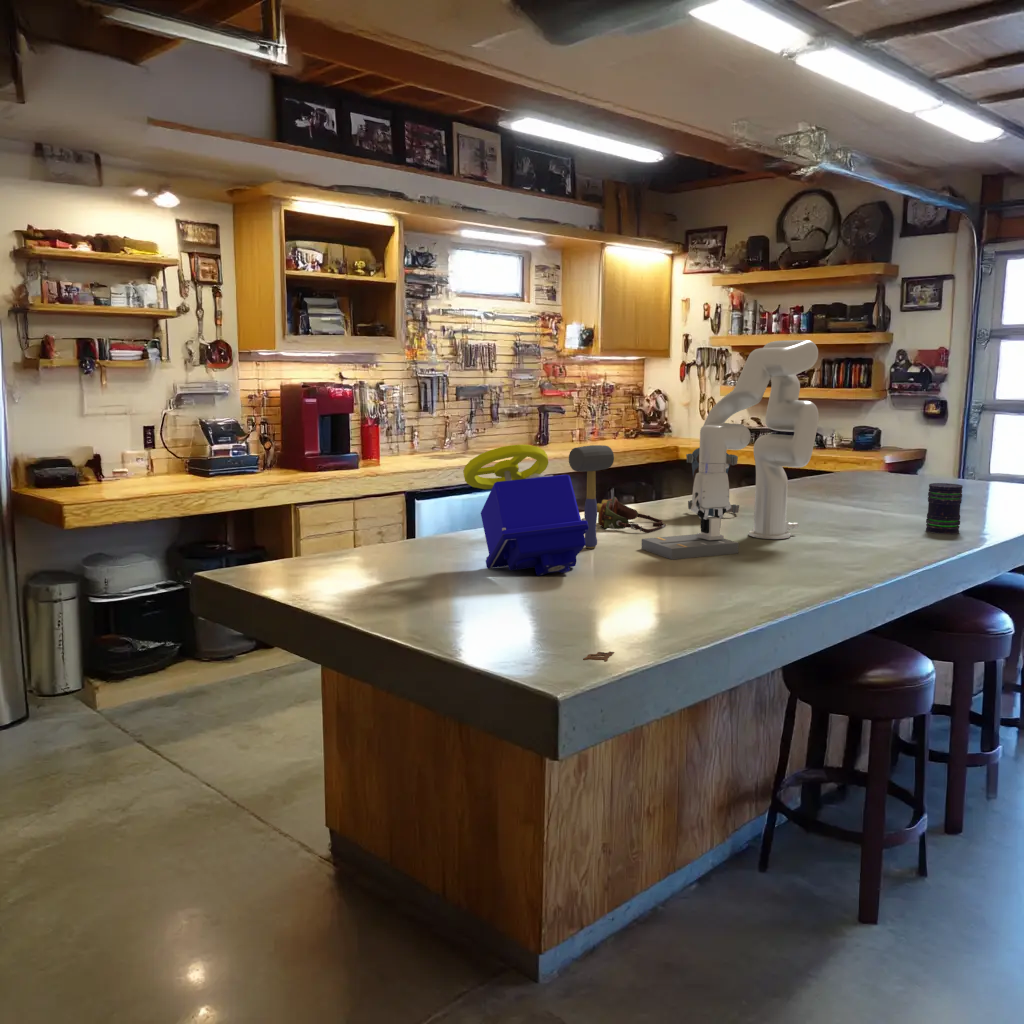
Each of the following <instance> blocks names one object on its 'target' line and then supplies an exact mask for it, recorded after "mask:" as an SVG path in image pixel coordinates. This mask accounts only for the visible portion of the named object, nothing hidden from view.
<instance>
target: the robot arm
mask: <svg viewBox="0 0 1024 1024" xmlns="http://www.w3.org/2000/svg"><path fill="white" fill-rule="evenodd" d="M818 358H819V348H818V347H817V345H816V343H815V342H813V341H812V340H808V339H803V340H802V339H800V340H799V339H798V340H797V339H796V340H795V339H794V340H774V341H770V342H768V343H766V344H764V346H763V347H760V348H756V349H754V350H752V351H751V352H750V353H749V355H748V357H747V359H746V361H745V364H744V365H743V368H742V371H741V373H740V375H739V377H738V380H737V382H736V384H735V386H734V388H733V389H732V391H730V392H729V393H727V394H726V395H725V396H724V397H722V398H721V399H720V400H718V402H717V403H715V405H713V407H712V408H711V409H710V410H709V411H708V414H707V416H706V418H705V420H704V424H703V426H701V428H700V431H699V448H700V451H699V473H696V476H695V480H694V484H693V486H692V497H691V498H692V499H691V500H692V507H691V509H690V511H691V512H693V513H695V514H696V515H697V516H698V518H699V519H700V526H699V528H700V533H701V532H704V533H709V519H708V512H709V509H711V508H713V510H714V517H717V518H720V527H721V525H722V523H721V521H722V520H721V519H723V518H724V515H725V514H726V513H727V512H726V511H727V510H729V509H730V508H731V505H732V504H731V502H730V482H729V476H728V473H726V468H730V466H729V465H728V464H726V453H727V451H729V450H731V451H739V450H742V449H744V448H746V447H747V446H748V445H749V443H750V441H751V436H752V435H751V431H750V430H749V428H748V427H747V426H746V425H744V424H742V423H741V424H740V423H729V422H728V423H727V422H726V421H727V420H728V419H729V418H731V417H732V416H734V415H735V414H737V413H739V412H741V411H745V410H746V409H749V408H751V407H753V406H755V405H757V404H758V405H759V403H760V402H761V401H762V399H763V397H764V394H765V392H766V390H767V387H768V385H769V383H770V381H771V386H770V387H771V388H770V392H769V393H770V394H769V399H768V403H767V407H766V412H765V420H764V421H765V425H766V428H769V429H770V430H773V431H779V432H793V435H792V434H791V435H788V434H775V433H774V434H773V433H771V434H770V433H768V434H763V435H761V436H759V437H758V438H757V439H756V440H755V442H754V443H753V458H754V464H755V465H754V466H755V489H754V490H755V493H754V513H753V514H754V515H753V516H754V518H753V529H750V530H749V531H748V536H750V537H753V538H756V539H762V540H763V539H764V540H783V539H789V538H790V537H791V534H792V533H791V532H789V531H790V530H795V529H798V528H799V523H798V522H790V521H787V507H788V504H787V503H788V487H789V485H788V483H789V480H788V476H787V473H786V471H785V469H784V467H787V468H803V467H805V466H807V465H808V464H809V462H810V461H811V458H812V455H813V450H814V446H815V442H816V441H815V440H816V435H817V431H818V427H819V420H820V419H819V418H820V417H819V416H820V415H819V410H818V409H819V408H818V407H817V405H816V404H815V403H814V402H812V401H811V400H810V401H809V400H799V398H800V397H799V396H800V393H801V392H800V390H801V383H800V380H799V377H797V375H798V374H800V373H802V372H805V371H807V370H810V369H811V368H812V367H814V365H815V364H816V363H817V361H818ZM698 507H700V510H699V509H698Z"/></svg>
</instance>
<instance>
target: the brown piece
mask: <svg viewBox="0 0 1024 1024" xmlns="http://www.w3.org/2000/svg"><path fill="white" fill-rule="evenodd" d="M614 654H615V652H614V651H608V652H604V651H597V653H590V654H587V656H586V657H583V658H582V661H586V660H587V661H589V660H591V661H593V660H594V661H604V662H608V660H609V658H610V657H612V656H613V655H614Z"/></svg>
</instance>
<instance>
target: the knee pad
mask: <svg viewBox="0 0 1024 1024" xmlns="http://www.w3.org/2000/svg"><path fill="white" fill-rule="evenodd" d="M699 451H700V447H698V448H696V449H694V450H693V451H692V453H686V455H685V456H686V458H685V459H686V463H687V464H688V463H689V464H691V468H692V478H693V479H692V483H693V485H694V480H695V476H696V473H699ZM738 459H739V456H738V455H737V454H736V455H735V454H733V453H732V454H729V453H728V452H726V464H728V465H729V468H730V466H735V465H738V461H739V460H738ZM729 468H726V473H727V474H728V473H729V470H730V469H729ZM687 507H688V510H689V511H691V507H692V499H690V500H688V501H687ZM698 509H699V510H700V507H698ZM739 509H740V505H739V504H731V508H730V509H729V510H727V511H726V512H725V513H732V514H738V513H739V511H740V510H739ZM708 516H713V517H714V510H713V508H711V509H709V512H708Z"/></svg>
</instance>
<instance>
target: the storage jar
mask: <svg viewBox="0 0 1024 1024" xmlns="http://www.w3.org/2000/svg"><path fill="white" fill-rule="evenodd" d="M963 488H964V487H963V485H962V484H957V483H947V482H946V483H945V482H944V483H943V482H942V483H940V482H935V483H929V484H928V492H927V493H928V494H927V496H928V497H927V502H928V503H927V505H928V506H927V513H926V520H925V523H926V524H925V525H926V527H925V532H928V533H933V534H940V535H957V534H959V533H960V526H961V504H962V501H963V499H962V498H963Z"/></svg>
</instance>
